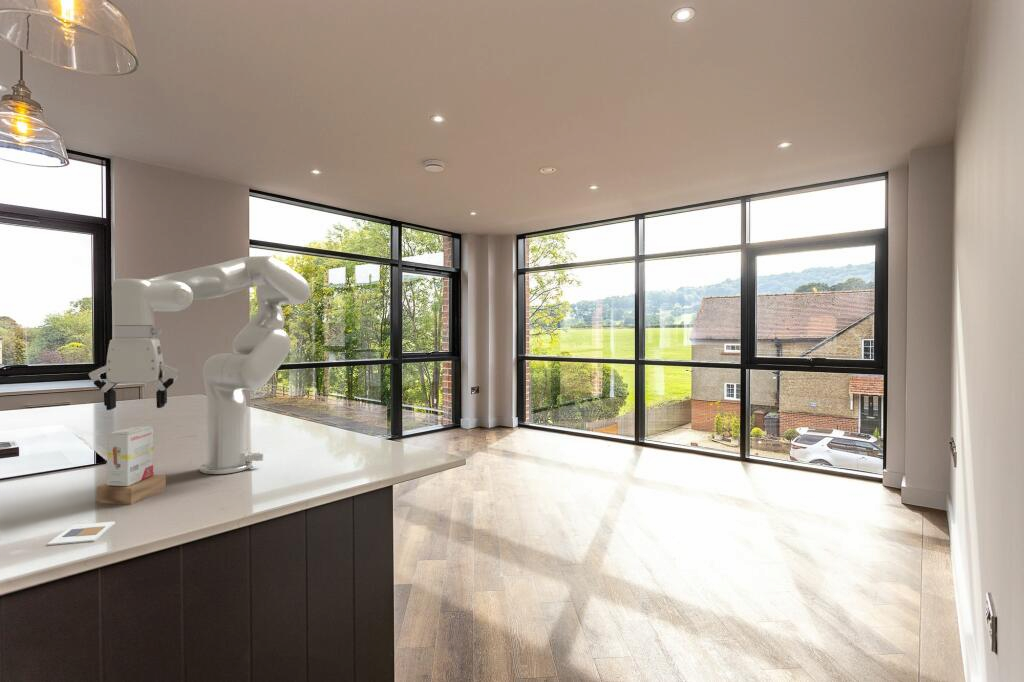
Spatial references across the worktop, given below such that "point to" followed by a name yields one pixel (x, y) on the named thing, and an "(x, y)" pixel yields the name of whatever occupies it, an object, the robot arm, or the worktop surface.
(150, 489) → the base block
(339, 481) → the worktop surface
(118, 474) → the ink box
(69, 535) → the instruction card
